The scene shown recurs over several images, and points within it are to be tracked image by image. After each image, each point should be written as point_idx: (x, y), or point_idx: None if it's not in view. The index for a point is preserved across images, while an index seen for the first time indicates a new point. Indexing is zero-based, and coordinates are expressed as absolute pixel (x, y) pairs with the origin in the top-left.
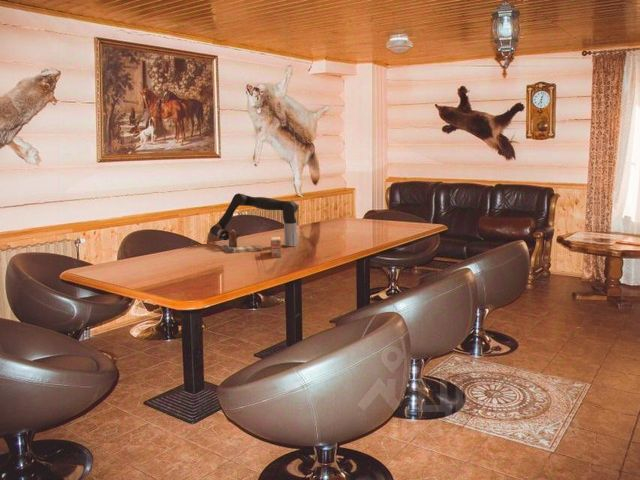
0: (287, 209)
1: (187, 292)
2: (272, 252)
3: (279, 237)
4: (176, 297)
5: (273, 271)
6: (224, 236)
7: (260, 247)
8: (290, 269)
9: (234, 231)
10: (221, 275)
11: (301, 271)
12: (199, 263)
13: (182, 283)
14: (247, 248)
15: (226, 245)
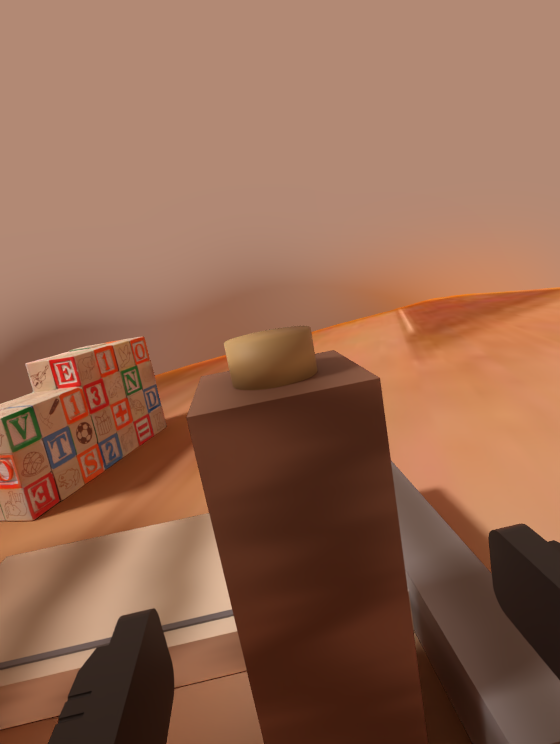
0: None
1: (461, 301)
2: (157, 401)
3: (44, 358)
4: (472, 296)
5: None
6: (553, 548)
7: (29, 555)
8: (218, 363)
9: (215, 392)
10: (409, 329)
11: (205, 360)
12: (544, 357)
13: (494, 306)
14: (185, 526)
15: (478, 663)
